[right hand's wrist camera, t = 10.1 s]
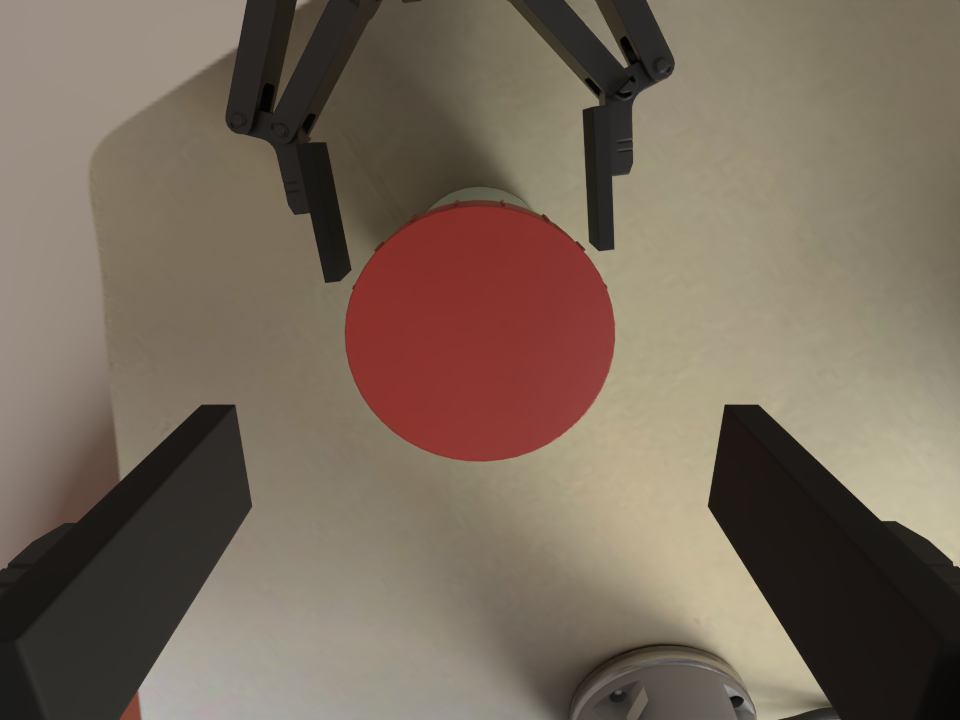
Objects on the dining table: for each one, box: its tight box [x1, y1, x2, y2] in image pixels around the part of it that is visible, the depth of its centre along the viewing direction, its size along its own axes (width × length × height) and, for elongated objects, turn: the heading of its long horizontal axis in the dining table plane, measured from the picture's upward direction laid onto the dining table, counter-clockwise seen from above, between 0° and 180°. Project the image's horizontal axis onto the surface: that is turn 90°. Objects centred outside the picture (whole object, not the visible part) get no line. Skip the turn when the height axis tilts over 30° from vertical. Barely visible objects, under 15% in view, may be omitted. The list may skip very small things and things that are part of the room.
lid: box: [345, 199, 615, 461], centre depth 22 cm, size 10×10×2 cm
